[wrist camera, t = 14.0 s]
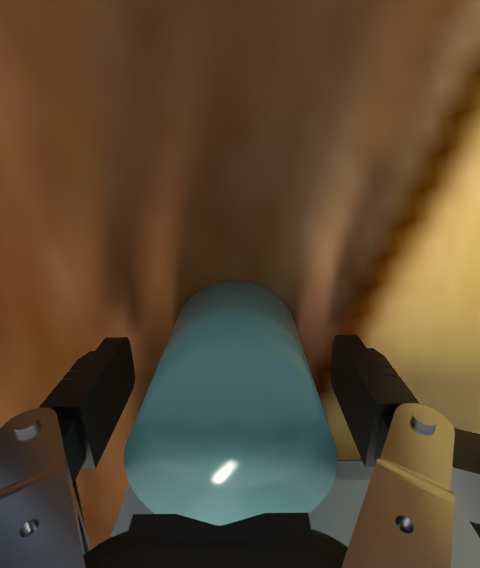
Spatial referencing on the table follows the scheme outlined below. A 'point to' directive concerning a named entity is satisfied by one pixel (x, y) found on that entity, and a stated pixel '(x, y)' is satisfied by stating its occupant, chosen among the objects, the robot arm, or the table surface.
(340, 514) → the blue-grey tote
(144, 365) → the table surface
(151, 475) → the teal glossy cylinder
